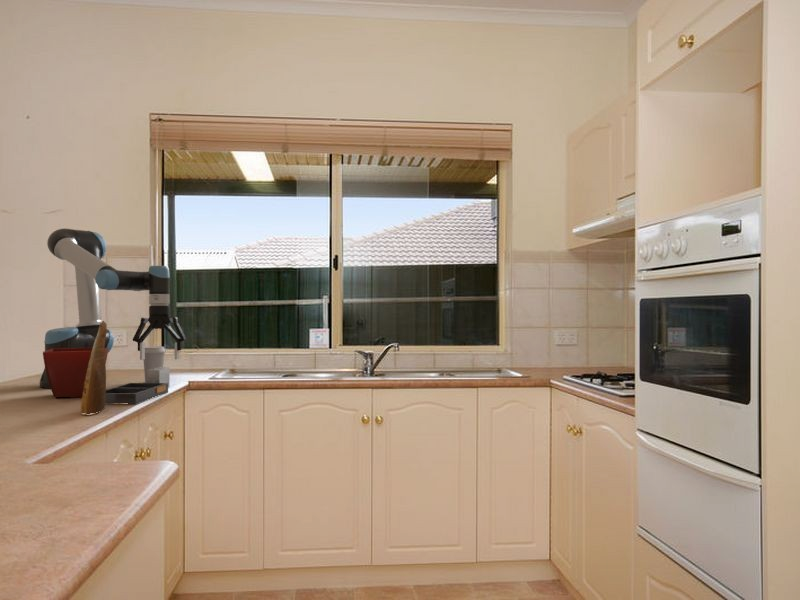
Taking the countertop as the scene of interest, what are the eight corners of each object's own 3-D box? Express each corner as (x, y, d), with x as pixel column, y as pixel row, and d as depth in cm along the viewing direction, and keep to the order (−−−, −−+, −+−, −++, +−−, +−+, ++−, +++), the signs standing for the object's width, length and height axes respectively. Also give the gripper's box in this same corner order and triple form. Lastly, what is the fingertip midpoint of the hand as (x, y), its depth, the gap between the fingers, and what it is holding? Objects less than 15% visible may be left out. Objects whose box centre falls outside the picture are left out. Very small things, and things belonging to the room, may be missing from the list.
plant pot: (51, 393, 228) (51, 347, 228) (108, 390, 235) (108, 346, 235) (41, 400, 210) (41, 351, 211) (103, 398, 217) (103, 350, 217)
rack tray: (92, 404, 204) (92, 393, 204) (129, 392, 232) (129, 382, 232) (136, 404, 204) (136, 393, 204) (169, 392, 232) (169, 383, 232)
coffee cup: (136, 382, 258) (136, 347, 258) (154, 380, 266) (155, 345, 266) (152, 384, 253) (152, 348, 254) (170, 381, 262) (170, 346, 262)
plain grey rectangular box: (147, 390, 236) (147, 370, 236) (158, 387, 246) (158, 367, 246) (159, 390, 236) (159, 370, 236) (169, 387, 246) (169, 367, 246)
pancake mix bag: (113, 406, 201) (113, 320, 201) (101, 416, 182) (102, 322, 182) (90, 406, 199) (91, 320, 199) (76, 417, 180) (77, 322, 181)
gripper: (123, 305, 237) (123, 360, 237) (187, 304, 237) (187, 359, 237) (132, 305, 245) (132, 358, 245) (194, 304, 245) (194, 358, 244)
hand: (159, 359), depth 241 cm, fingers open, 13 cm apart
